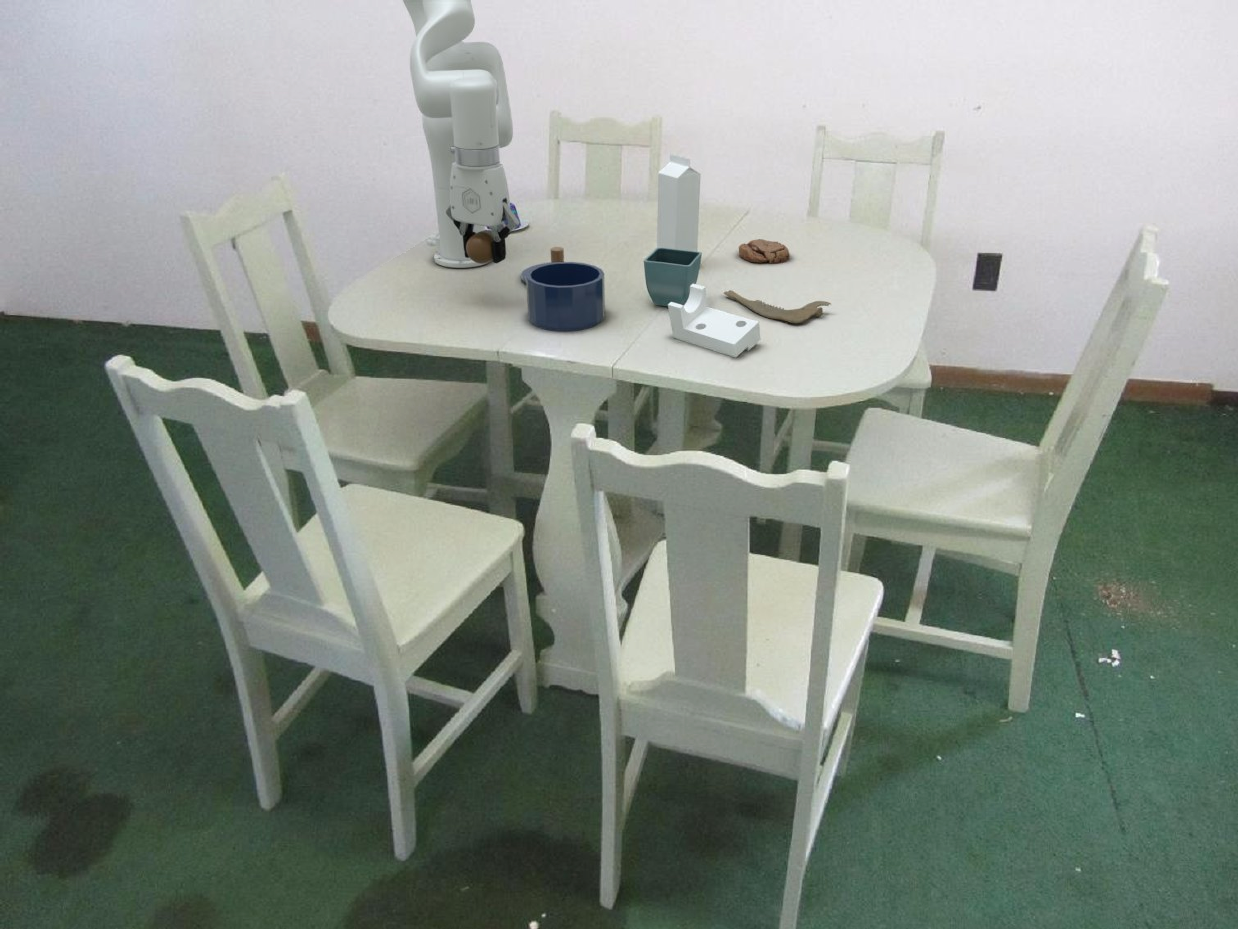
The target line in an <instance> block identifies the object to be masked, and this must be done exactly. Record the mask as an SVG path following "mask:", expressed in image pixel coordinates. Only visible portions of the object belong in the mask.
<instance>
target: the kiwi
mask: <svg viewBox="0 0 1238 929" xmlns="http://www.w3.org/2000/svg"><path fill="white" fill-rule="evenodd" d="M493 241H494V237H493V235H492V232H491V230H483V231H480V232H478V233H476V234H474V235H473V236H471V237H470V238H469V240H468V241H467V244H466V251H467V254H468V256H469V258H470V259H471V260H472V261H474V262H476V263H479V264H484V263H487V264H489V263H491V262H493V256H492V242H493ZM490 261H491V262H490ZM488 262H489V263H488ZM484 265H485V264H484Z"/></svg>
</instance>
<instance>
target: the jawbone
mask: <svg viewBox="0 0 1238 929" xmlns="http://www.w3.org/2000/svg"><path fill="white" fill-rule="evenodd" d="M723 294H724V295H725V296H726V297H729V298H731V299H732V300H733V301H738V302H739V303H740V304H742V305H743V306H745V307H746V308H748V309H749V310H751V311H753V312H754V313H756V314H758V315H760V316H762V317H764V318H768V319H773V320H779V321H784V322H788V323H791V324H800V323H804V322H806V321H807V320H808V319H809V318H810V317H812V316H815V317H817V318H820V317H821V316H822V315H823V312H824V311H823V310H824V309H823V307H829V306H832V303H831V302H829V301H825V300H816V301H812V302H810V303H807V304H806V305H804V306H802V307H800V308H794V309H785V308H784V307H783V308H782V307H781V306H775V305H772V304H769V303H766V302H765V301H762V300H760V299H756V300H749V299H747V298H744V297H743V296H742V295H739V294H738V293H736V292H735V291H734V290H731V289H729V290H728V291H724V292H723Z"/></svg>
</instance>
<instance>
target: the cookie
mask: <svg viewBox="0 0 1238 929" xmlns="http://www.w3.org/2000/svg"><path fill="white" fill-rule="evenodd" d="M738 255H739V257H740V258H742V259H744V260H745V261H748V262H750V263H757V264H759V263H760V264H762V263H769V264H780V263H782V262H786V261H788V260H789V258H790V251H789V248H788V247H787V245H785V244H783V243H781V242H778V241H774V240H773V241H772V240H766V239H762V238H759V239H757V238H756V239H752V240H749V242H747V243H742V244H740V245H739V246H738Z"/></svg>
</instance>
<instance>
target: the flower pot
mask: <svg viewBox="0 0 1238 929" xmlns="http://www.w3.org/2000/svg"><path fill="white" fill-rule="evenodd" d="M702 256H703V252H702V251H697V252H696V251H687V250H678V249H669V248H657V247H656V248H655V249H654V250H653V251H652V252H651V253H650V254H648V256H647V257H646V258H644V260H643V268H644V269H643V270H644V280H645V286H646V289H647V293H648V295H649V297H650V299H651V301H652V302H653V305H656V306H662V307H668V304H669V303H670V302H674V303H677V304H681V305H685V304H686V302H687V300H688V298H689V294H690V286H691V285H692V284H697V283H698V282H697V281H698V278H699V274H700V268H701V262H702Z"/></svg>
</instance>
